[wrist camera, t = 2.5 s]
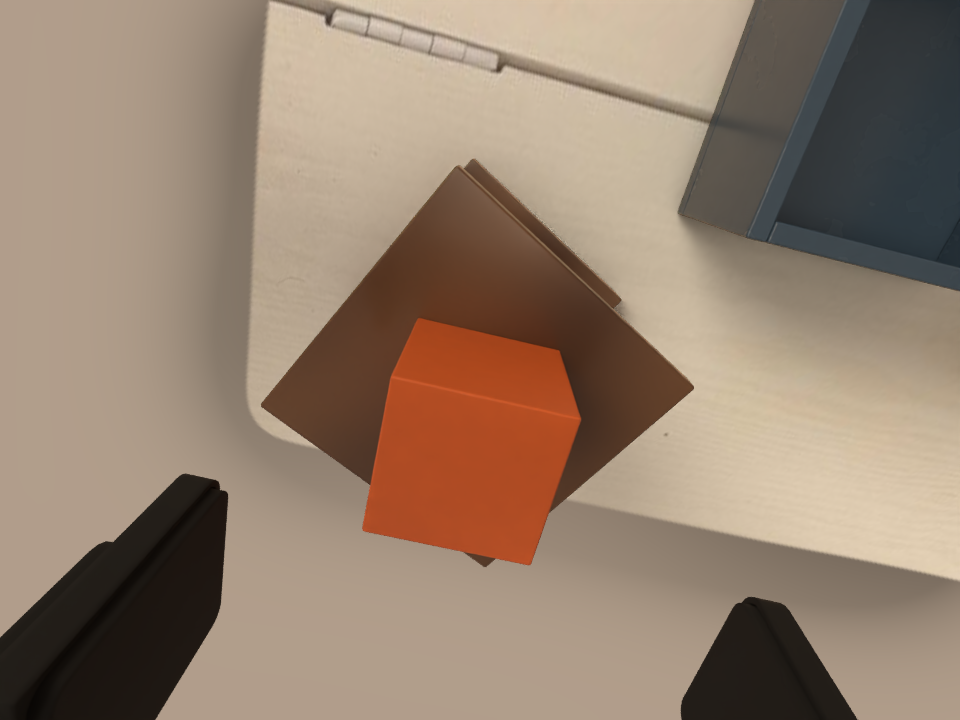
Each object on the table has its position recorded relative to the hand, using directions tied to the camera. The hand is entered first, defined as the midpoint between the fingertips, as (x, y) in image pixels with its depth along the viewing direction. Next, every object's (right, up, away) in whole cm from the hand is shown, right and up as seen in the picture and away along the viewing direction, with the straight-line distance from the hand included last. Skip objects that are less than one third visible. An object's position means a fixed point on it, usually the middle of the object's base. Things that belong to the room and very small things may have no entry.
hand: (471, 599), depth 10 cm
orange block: (0, +3, +7) cm, 8 cm away
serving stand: (0, +8, +19) cm, 20 cm away
